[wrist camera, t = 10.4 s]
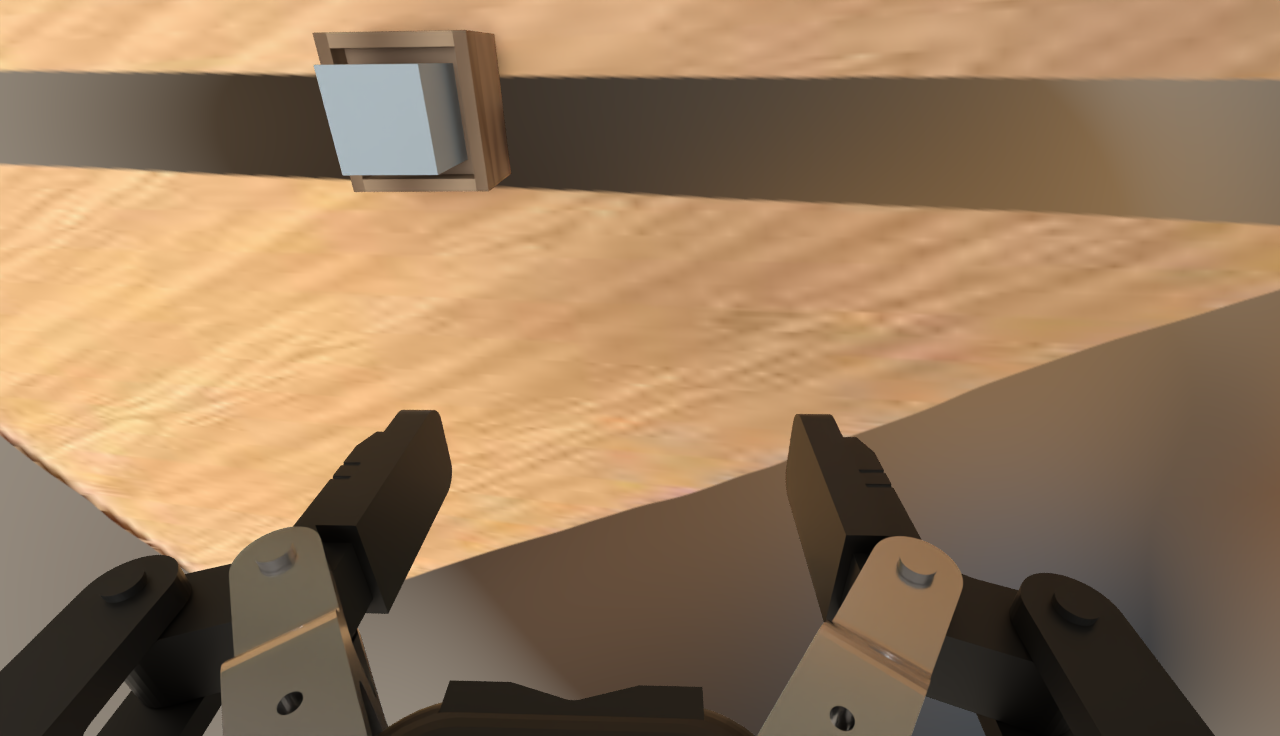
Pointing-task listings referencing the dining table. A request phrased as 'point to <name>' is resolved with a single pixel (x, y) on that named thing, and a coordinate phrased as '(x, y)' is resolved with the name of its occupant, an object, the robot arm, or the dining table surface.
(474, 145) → the walnut base
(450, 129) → the bluegrey cube
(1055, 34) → the dining table surface
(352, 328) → the dining table surface
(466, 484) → the dining table surface
